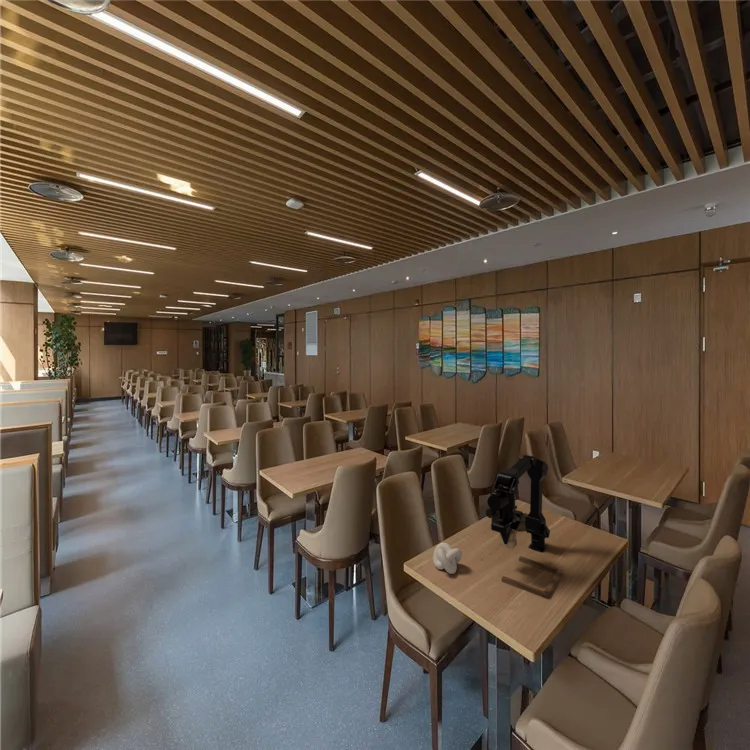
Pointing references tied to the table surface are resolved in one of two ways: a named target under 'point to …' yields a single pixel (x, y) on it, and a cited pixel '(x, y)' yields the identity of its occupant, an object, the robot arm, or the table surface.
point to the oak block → (511, 542)
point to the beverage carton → (522, 524)
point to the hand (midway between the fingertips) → (508, 541)
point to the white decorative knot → (446, 557)
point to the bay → (534, 590)
